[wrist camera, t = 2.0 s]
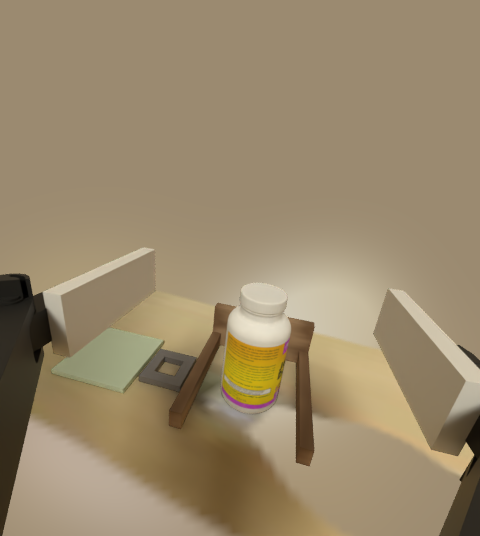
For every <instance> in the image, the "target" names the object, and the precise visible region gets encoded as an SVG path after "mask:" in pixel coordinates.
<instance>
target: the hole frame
mask: <svg viewBox="0 0 480 536" xmlns="http://www.w3.org/2000/svg"><path fill="white" fill-rule="evenodd" d="M164 362H168V363H172V364H176V365H180V366H181V367H180V368H179V370H178V372H177V373H176V375H175V376H172V375H168V374H164V373H160V372H157V371H158V370H159V369H160V367H161V366H162V365H163V363H164ZM195 363H196V357H193V356H189V355H184V354H180V353H176V352H172V351H168V350H164V349H160V350H159V351H158V352H157V354H156V355H155V356H154V357H153V359H152V360H151V361H150V362H149V364H148V365H147V366H146V367H145V369H144V370H143V371H142V372H141V374H140V375H139V381H140V382H144V383H148V384H152V385H155V386H159V387H163V388H167V389H170V390H174V391H178V392H180V390H181V388H182V387H183V385H184V383H185V381H186V379H187V378H188V376H189V374H190V372H191V370H192V369H193V367H194V365H195Z"/></svg>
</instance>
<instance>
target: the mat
mask: <svg viewBox="0 0 480 536" xmlns="http://www.w3.org/2000/svg"><path fill="white" fill-rule="evenodd" d="M163 344H164V340H161V339H157V338H152V337H148V336H144V335H140V334H135V333H131V332H127V331H123V330H118V329H114V328H110V327H109V328H108V329H106V330H105V331H104V332H102V333H101V334H100V335H99V336H97V337H96V338H95V339H93V340H92V341H91V342H90V343H88V344H87V345H86V346H84V347H83V348H82V349H81V350H79V351H78V352H77V353H76V354H74V355H73V356H72V357H70V358H69V357H66V358H65V359H64V360H62V361H61V362H60V363H58V364H57V365H56V366H55V367H53V368H52V369H51V372H52V374H56V375H59V376H63V377H67V378H70V379H74V380H77V381H81V382H85V383H88V384H92V385H95V386H99V387H102V388H106V389H110V390H113V391H117V392H120V393H124V392H125V391H126V389H127V388H128V387H129V386H130V385H131V383H132V382H133V381H134V380H135V378H136V377H137V376H138V375H139V373H140V372H141V371H142V370H143V368H144V367H145V366H146V365H147V364H148V362H149V361H150V360H151V359H152V357H153V356H154V355H155V354H156V352H157V351H158V350H159V349H160V347H161V346H162V345H163Z"/></svg>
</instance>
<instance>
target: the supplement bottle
mask: <svg viewBox="0 0 480 536" xmlns="http://www.w3.org/2000/svg"><path fill="white" fill-rule="evenodd" d="M287 299H288V297H287V294H286V292H285V291H283V290H282V289H280V288H278V287H276V286H273V285H270V284H265V283H250V284H247V285H245V286H243V287H242V289H241V293H240V304H241V305H239V306H238V307H236V308H235V309H233V310H232V312H231V313H230V315H229V317H228V322H227V332H226V341H225V350H224V358H223V367H222V376H221V393H222V396H223V398H224V399H225V401H226V402H227V403H228V404H229V405H230V406H231V407H232V408H234V409H235V410H237V411H240V412H243V413H247V414H257V413H262V412H265V411H267V410H268V409H270V408H271V407H272V406H273V405H274V403H275V401H276V399H277V396H278V392H279V387H280V382H281V377H282V373H283V368H284V363H285V358H286V353H287V348H288V343H289V339H290V334H291V324H290V321H289V319H288V317H287V316H286V315H285V314H284V313H283V312H284V310H285V309H286V305H287Z"/></svg>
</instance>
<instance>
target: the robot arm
mask: <svg viewBox="0 0 480 536" xmlns="http://www.w3.org/2000/svg"><path fill="white" fill-rule="evenodd" d="M154 292H155V250H154V249H149V248H141V249H139V250H137V251H134V252H132V253H130V254H127V255H125V256H123V257H121V258H118V259H116V260H114V261H111V262H109V263H107V264H105V265H102V266H100V267H98V268H95V269H93V270H91V271H89V272H86V273H84V274H82V275H80V276H77V277H75V278H73V279H70V280H68V281H66V282H63V283H61V284H59V285H57V286H54V287H52V288H50V289H47V290H45V291H43V292H42V293H39V294H37V295H35V296H33V294H32V289H31V284H30V278H29V276H27V275H25V274H6V275H0V536H2V534H3V530H4V525H5V521H6V517H7V512H8V508H9V504H10V499H11V495H12V491H13V486H14V482H15V478H16V474H17V469H18V465H19V461H20V456H21V452H22V448H23V444H24V439H25V435H26V431H27V426H28V422H29V418H30V414H31V409H32V405H33V401H34V396H35V392H36V388H37V383H38V379H39V375H40V371H41V366H42V362H43V358H44V351H43V346H44V345H46V344H47V343H49V342H50V341H51V342H52V348H53V353H54V354H57V355H61V356H65V357H69V358H70V357H72V356H73V355H74V354H76V353H77V352H78V351H79V350H81V349H82V348H83V347H84V346H86V345H87V344H88V343H90V342H91V341H92V340H93V339H95V338H96V337H97V336H99V335H100V334H101V333H102V332H104V331H105V330H106V329H108V328H109V327H110V326H111V325H113V324H114V323H115V322H116V321H118V320H119V319H120V318H122V317H123V316H124V315H125V314H127V313H128V312H129V311H131V310H132V309H133V308H134V307H136V306H137V305H138V304H139V303H141V302H142V301H143V300H145V299H146V298H147V297H148V296H150V295H151V294H152V293H154ZM373 334H374V336H375V338H376V340H377V342H378V344H379V346H380V348H381V350H382V352H383V354H384V356H385V358H386V360H387V362H388V364H389V366H390V368H391V370H392V372H393V374H394V376H395V378H396V380H397V382H398V384H399V386H400V388H401V390H402V392H403V394H404V396H405V398H406V400H407V402H408V404H409V406H410V408H411V410H412V412H413V414H414V416H415V418H416V420H417V422H418V424H419V426H420V428H421V430H422V432H423V434H424V436H425V438H426V440H427V442H428V444H429V446H430V448H431V449H432V450H435V451H439V452H443V453H447V454H451V455H455V456H458V455H459V453H460V452H461V450H462V448H463V446H464V445H465V443H466V442H467V444H468V445H469V447H470V449H471V450H472V452H473V453H474V457H473V458H472V460H471V462H470V463H469V465H468V467H467V468H466V470H465V472H464V473H463V475H462V477H461V478H460V481H461V485H460V487H459V490H458V492H457V494H456V497H455V499H454V502H453V504H452V506H451V509H450V511H449V514H448V516H447V519H446V521H445V523H444V526H443V528H442V530H441V533H440V535H439V536H480V360H479V359H477V357H476V356H474V355H473V354H472V353H470V352H469V351H467V350H466V349H464V348H463V347H461V346H460V345H456V344H455V343H454V342H453V341H452V340H451V339H450V338H449V337H448V336H447V335H446V334H445V333H444V332H443V331H442V330H441V329H440V328H439V327H438V326H437V325H436V324H435V322H434V321H433V320H432V319H431V318H430V317H429V316H428V315H427V314H426V313H425V312H424V311H423V310H422V309H421V308H420V307H419V306H418V305H417V304H416V303H415V302H414V301H413V300H412V299H411V298H410V297H409V296H408V294H407V293H406V292H405V291H402V290H395V289H390V288H388V290H387V294H386V296H385V300H384V302H383V306H382V308H381V312H380V315H379V318H378V321H377V324H376V327H375V330H374V333H373Z"/></svg>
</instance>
